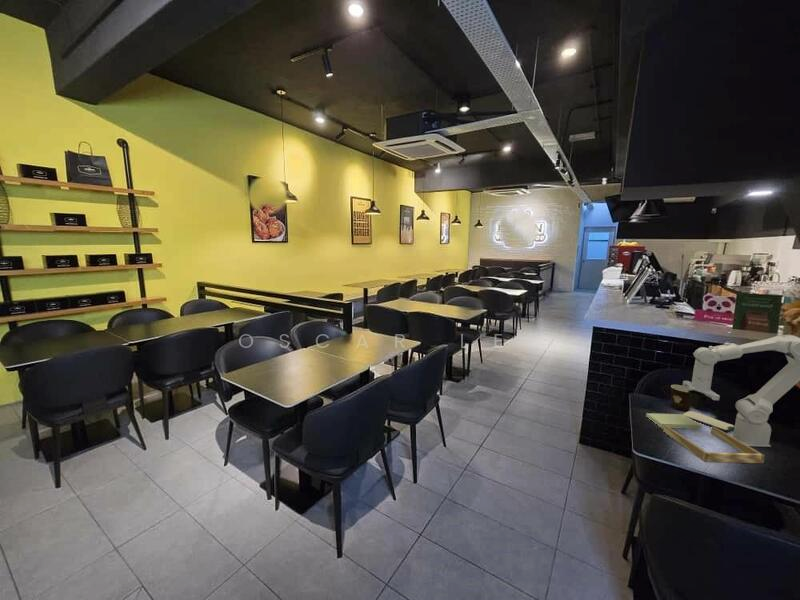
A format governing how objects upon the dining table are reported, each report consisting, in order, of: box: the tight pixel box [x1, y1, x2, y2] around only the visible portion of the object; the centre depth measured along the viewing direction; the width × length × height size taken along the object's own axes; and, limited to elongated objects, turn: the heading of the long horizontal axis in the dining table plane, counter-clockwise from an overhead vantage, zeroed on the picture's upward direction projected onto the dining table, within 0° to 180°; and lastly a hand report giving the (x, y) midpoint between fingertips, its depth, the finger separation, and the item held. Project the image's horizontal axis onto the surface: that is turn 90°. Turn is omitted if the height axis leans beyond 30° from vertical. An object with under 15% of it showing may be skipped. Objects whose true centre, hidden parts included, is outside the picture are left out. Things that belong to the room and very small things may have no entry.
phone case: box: [681, 410, 735, 434], centre depth 142 cm, size 9×2×16 cm
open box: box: [662, 425, 766, 464], centre depth 123 cm, size 20×19×3 cm
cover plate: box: [645, 412, 702, 430], centre depth 140 cm, size 16×9×2 cm, turn 88°
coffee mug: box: [661, 384, 693, 413], centre depth 154 cm, size 12×9×10 cm
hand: (697, 409), depth 133 cm, fingers closed
